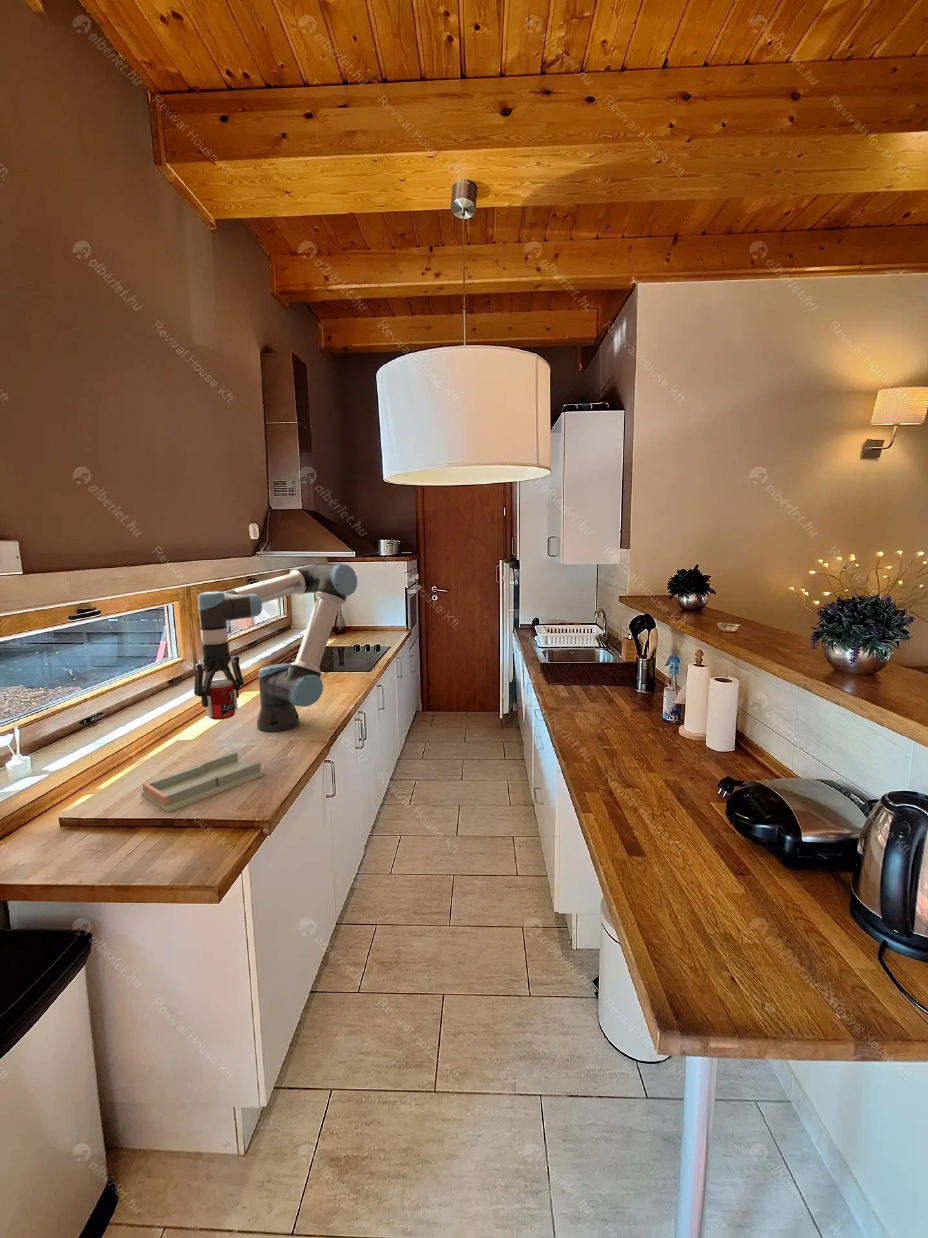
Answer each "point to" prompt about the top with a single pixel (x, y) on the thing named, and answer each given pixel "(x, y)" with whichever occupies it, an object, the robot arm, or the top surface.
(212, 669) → the robot arm
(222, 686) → the canned food
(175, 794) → the grey miter box
